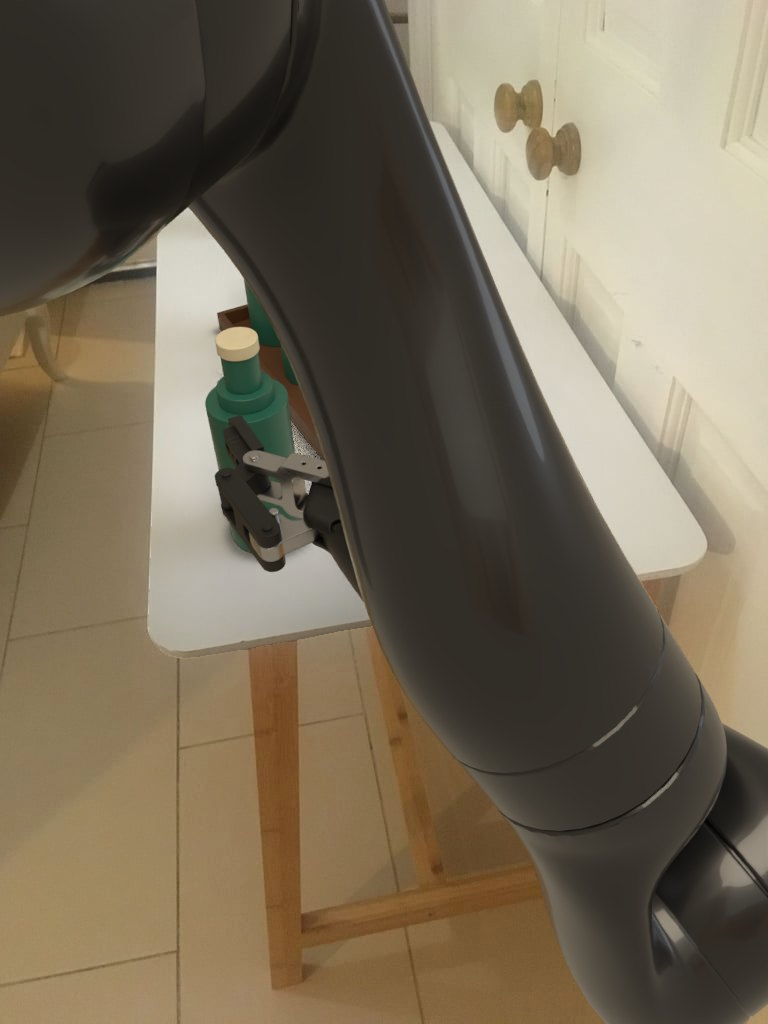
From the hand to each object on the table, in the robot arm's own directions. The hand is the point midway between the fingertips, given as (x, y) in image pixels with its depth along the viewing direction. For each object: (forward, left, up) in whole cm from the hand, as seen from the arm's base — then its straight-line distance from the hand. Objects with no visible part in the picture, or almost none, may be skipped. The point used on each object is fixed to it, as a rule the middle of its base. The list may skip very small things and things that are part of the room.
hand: (303, 406), depth 51 cm
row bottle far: (-18, +36, -19) cm, 44 cm away
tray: (-12, +30, -19) cm, 37 cm away
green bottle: (-8, +8, -19) cm, 22 cm away
